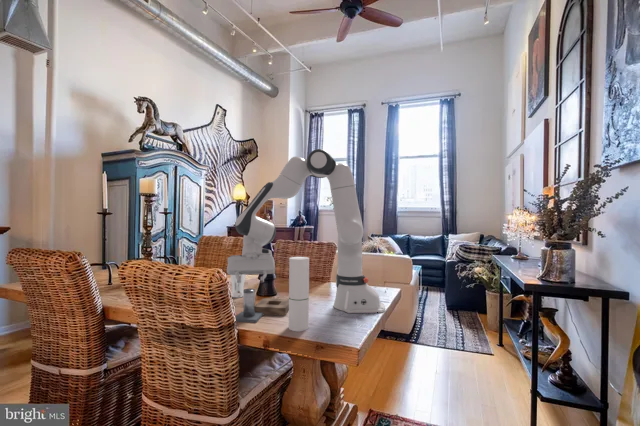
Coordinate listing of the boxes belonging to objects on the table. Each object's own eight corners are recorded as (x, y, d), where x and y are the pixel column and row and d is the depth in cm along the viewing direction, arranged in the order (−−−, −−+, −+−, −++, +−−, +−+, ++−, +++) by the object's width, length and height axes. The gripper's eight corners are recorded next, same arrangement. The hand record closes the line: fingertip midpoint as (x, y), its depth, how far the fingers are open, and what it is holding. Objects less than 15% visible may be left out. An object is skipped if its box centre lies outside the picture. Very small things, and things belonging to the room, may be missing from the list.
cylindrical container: (309, 324, 115) (310, 256, 115) (307, 331, 108) (307, 259, 108) (290, 323, 116) (291, 256, 116) (286, 330, 108) (287, 259, 109)
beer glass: (227, 297, 151) (227, 266, 151) (236, 293, 158) (236, 264, 158) (239, 298, 149) (240, 267, 149) (247, 295, 155) (248, 265, 155)
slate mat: (263, 314, 125) (263, 312, 125) (256, 322, 116) (256, 319, 116) (241, 313, 126) (241, 311, 126) (233, 321, 117) (233, 318, 117)
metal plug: (256, 313, 123) (256, 288, 123) (252, 317, 119) (253, 291, 119) (245, 313, 124) (245, 288, 124) (241, 317, 119) (241, 291, 119)
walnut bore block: (291, 306, 138) (291, 299, 138) (285, 315, 125) (285, 308, 125) (263, 304, 139) (263, 298, 139) (254, 314, 126) (254, 306, 126)
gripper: (227, 251, 135) (224, 278, 125) (274, 250, 138) (275, 276, 129) (228, 259, 139) (225, 286, 130) (274, 259, 143) (274, 285, 133)
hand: (250, 281), depth 129 cm, fingers open, 8 cm apart
